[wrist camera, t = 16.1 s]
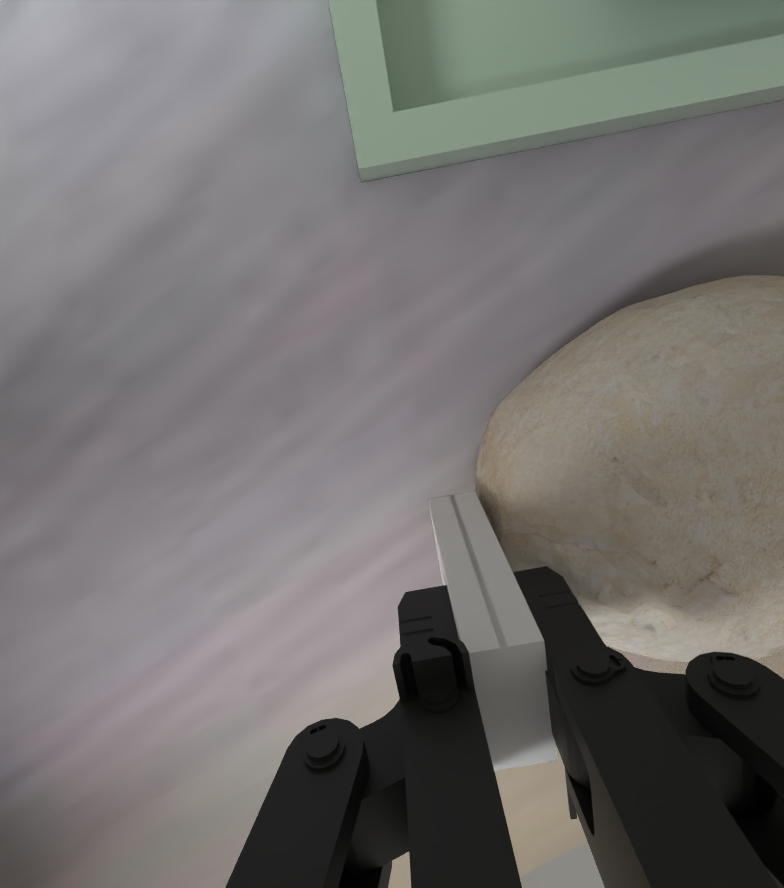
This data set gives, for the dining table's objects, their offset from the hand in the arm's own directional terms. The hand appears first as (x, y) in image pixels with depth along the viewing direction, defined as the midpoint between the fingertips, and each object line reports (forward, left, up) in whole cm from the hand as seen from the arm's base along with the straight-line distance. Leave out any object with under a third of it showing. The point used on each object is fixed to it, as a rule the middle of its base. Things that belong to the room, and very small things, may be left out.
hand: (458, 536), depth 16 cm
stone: (+7, +1, -2) cm, 7 cm away
